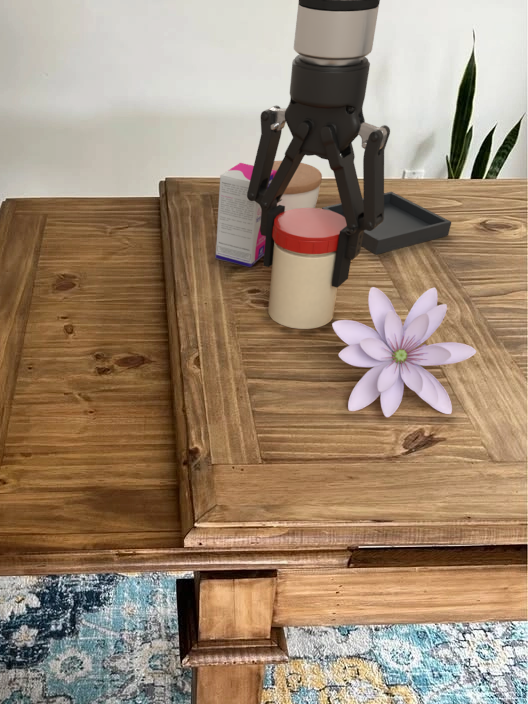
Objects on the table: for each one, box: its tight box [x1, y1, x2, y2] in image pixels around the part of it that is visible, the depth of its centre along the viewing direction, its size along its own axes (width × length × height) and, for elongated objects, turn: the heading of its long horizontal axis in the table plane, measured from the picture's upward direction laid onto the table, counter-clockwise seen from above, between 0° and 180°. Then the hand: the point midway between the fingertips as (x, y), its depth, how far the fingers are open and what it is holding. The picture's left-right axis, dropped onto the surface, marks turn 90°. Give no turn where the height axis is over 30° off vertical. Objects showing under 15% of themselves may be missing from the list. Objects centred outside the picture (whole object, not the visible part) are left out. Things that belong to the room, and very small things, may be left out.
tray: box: [321, 191, 452, 255], centre depth 108 cm, size 13×13×2 cm
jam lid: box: [272, 207, 347, 254], centre depth 83 cm, size 8×8×2 cm
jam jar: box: [267, 241, 339, 330], centre depth 87 cm, size 8×8×11 cm
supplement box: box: [214, 162, 277, 268], centre depth 98 cm, size 6×6×12 cm
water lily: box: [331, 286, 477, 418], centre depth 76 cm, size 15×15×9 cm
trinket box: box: [272, 160, 323, 211], centre depth 106 cm, size 11×11×9 cm
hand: (304, 271), depth 87 cm, fingers closed on jam lid, 8 cm apart
